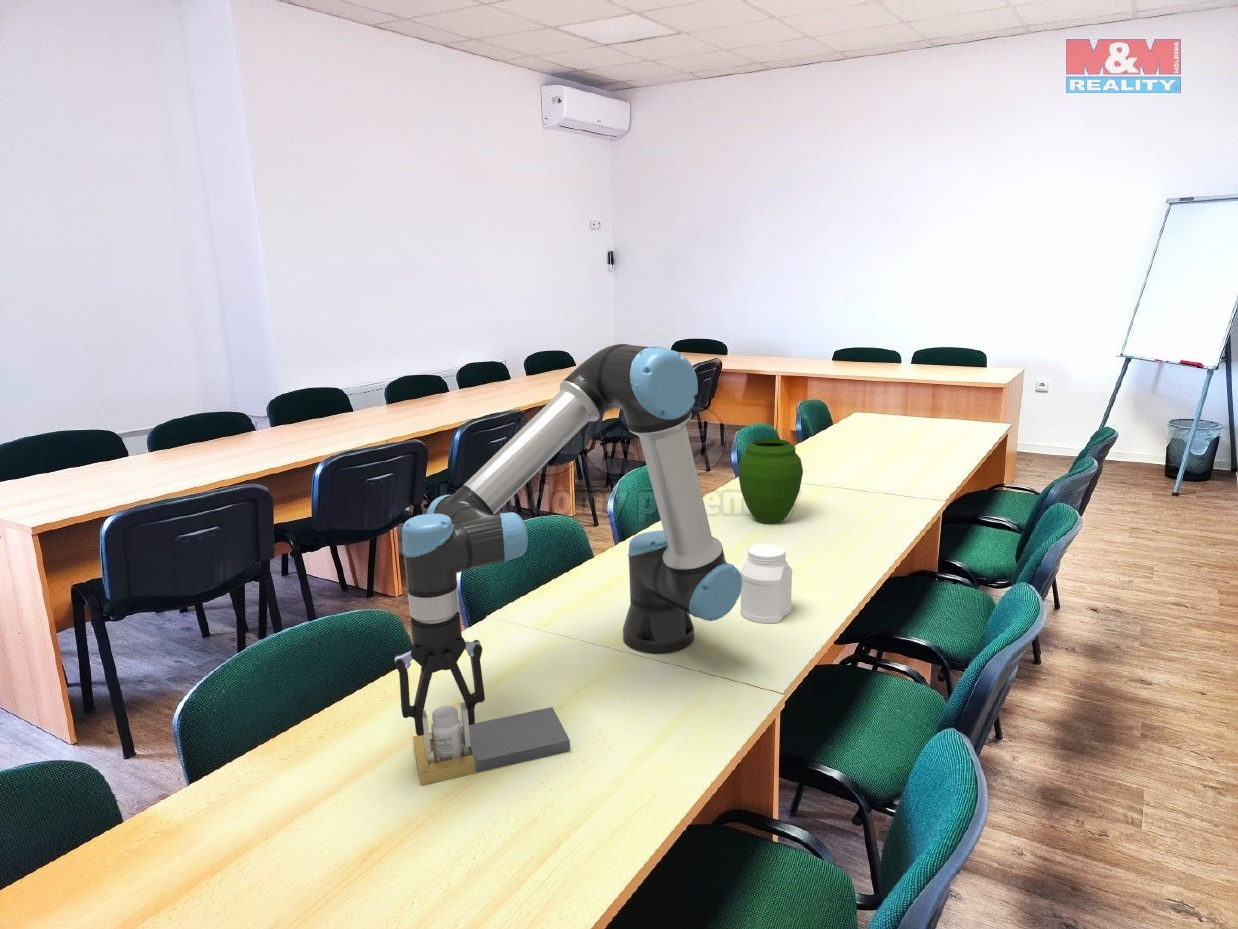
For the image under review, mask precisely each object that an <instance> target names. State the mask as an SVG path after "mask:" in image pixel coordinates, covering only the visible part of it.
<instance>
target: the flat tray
mask: <svg viewBox="0 0 1238 929" xmlns="http://www.w3.org/2000/svg"><path fill="white" fill-rule="evenodd" d="M461 728H462V725H461ZM469 734H470V745H471V746H469V747H468V751H469V755H466V756H465V755H464V757H460V758H456V759H451V760H447V761H443V762H438V763H436V762H433V763H430V764H429V762H428V759H427V756H426V751H425V746H424V737H423V735H421V736H417V735H413V736H412V742H413V743H412V744H413V751H414V755H415V760H416V767H417V772H418V777H419V778H418V779H419V783H420V786H425V785H430V784H434V783H438V782H443V781H446V780H451V779H455V778H460V777H465V776H469V775H472V774H473V775H474V774H476V773H477V774H478V773H482V772H485V771H491V770H494V769H499V768H503V767H507V766H511V765H515V764H520V763H521V764H522V763H524V762H525V763H526V762H529V761H533V760H537V759H542V758H546V757H550V756H551V757H552V756H555V755H559V754H564V753H568V752H571V739H570V738H569V736H568V734H567V732H566V730H565V729H564V727H563V725H562V723H561V721H560V719H559V717H558V715H557V712H556V711H555V709H554V708H553V706H550V707H546V708H540V709H537V710H531V711H526V712H522V713H516V714H511V715H508V716H503V717H498V718H494V719H490V720H489V719H488V720H484V721H479V722H475V723H474V724H472V725H469ZM429 738H430V748H431V751H434V750H433V741H432V731H431V732H429ZM462 739H463V729H462ZM463 744H465V742H464V739H463Z"/></svg>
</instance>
